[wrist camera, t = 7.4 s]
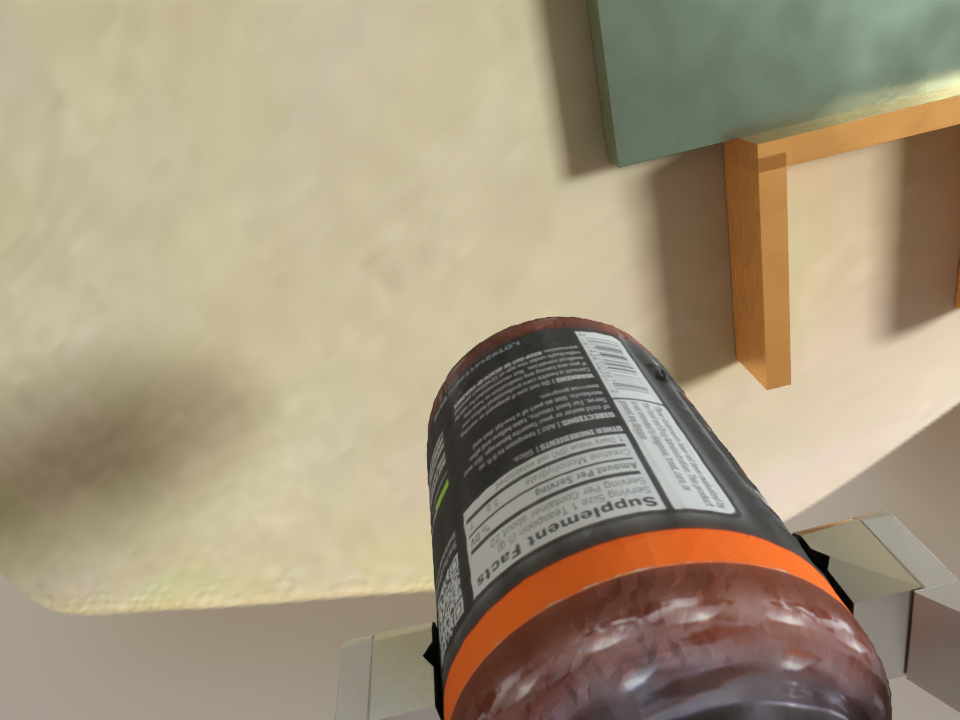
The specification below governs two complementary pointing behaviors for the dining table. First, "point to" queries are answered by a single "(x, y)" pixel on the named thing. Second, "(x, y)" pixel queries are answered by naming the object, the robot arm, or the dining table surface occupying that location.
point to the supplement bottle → (618, 551)
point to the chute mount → (770, 111)
